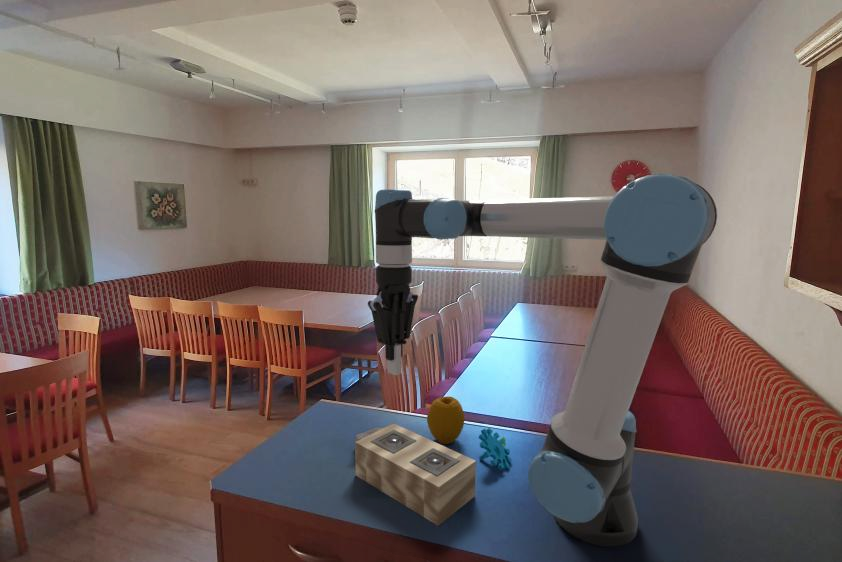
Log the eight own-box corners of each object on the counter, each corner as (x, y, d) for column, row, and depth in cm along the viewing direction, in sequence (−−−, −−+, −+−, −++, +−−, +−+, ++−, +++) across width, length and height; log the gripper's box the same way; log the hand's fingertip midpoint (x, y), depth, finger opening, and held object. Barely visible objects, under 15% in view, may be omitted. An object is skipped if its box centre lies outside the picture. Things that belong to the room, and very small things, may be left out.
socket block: (474, 496, 93) (476, 460, 92) (438, 525, 84) (438, 486, 83) (393, 454, 109) (393, 422, 107) (355, 475, 100) (355, 441, 99)
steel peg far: (404, 470, 100) (405, 439, 99) (393, 477, 98) (393, 445, 97) (393, 464, 103) (393, 434, 102) (382, 471, 100) (382, 439, 99)
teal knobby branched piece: (502, 473, 98) (476, 433, 102) (483, 485, 101) (458, 445, 104) (520, 457, 107) (496, 421, 111) (503, 469, 110) (479, 432, 114)
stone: (394, 440, 115) (394, 419, 114) (396, 458, 107) (397, 435, 106) (355, 443, 114) (355, 421, 113) (355, 460, 106) (355, 437, 105)
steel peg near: (446, 493, 92) (447, 459, 91) (435, 501, 90) (436, 466, 89) (433, 485, 95) (433, 453, 94) (422, 493, 92) (422, 460, 91)
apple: (445, 427, 123) (446, 386, 121) (472, 440, 115) (473, 397, 114) (419, 439, 116) (419, 396, 114) (445, 454, 109) (446, 409, 107)
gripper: (402, 261, 100) (402, 361, 104) (358, 266, 91) (359, 376, 94) (427, 263, 95) (426, 369, 99) (383, 269, 86) (384, 386, 89)
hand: (394, 373), depth 97 cm, fingers closed
